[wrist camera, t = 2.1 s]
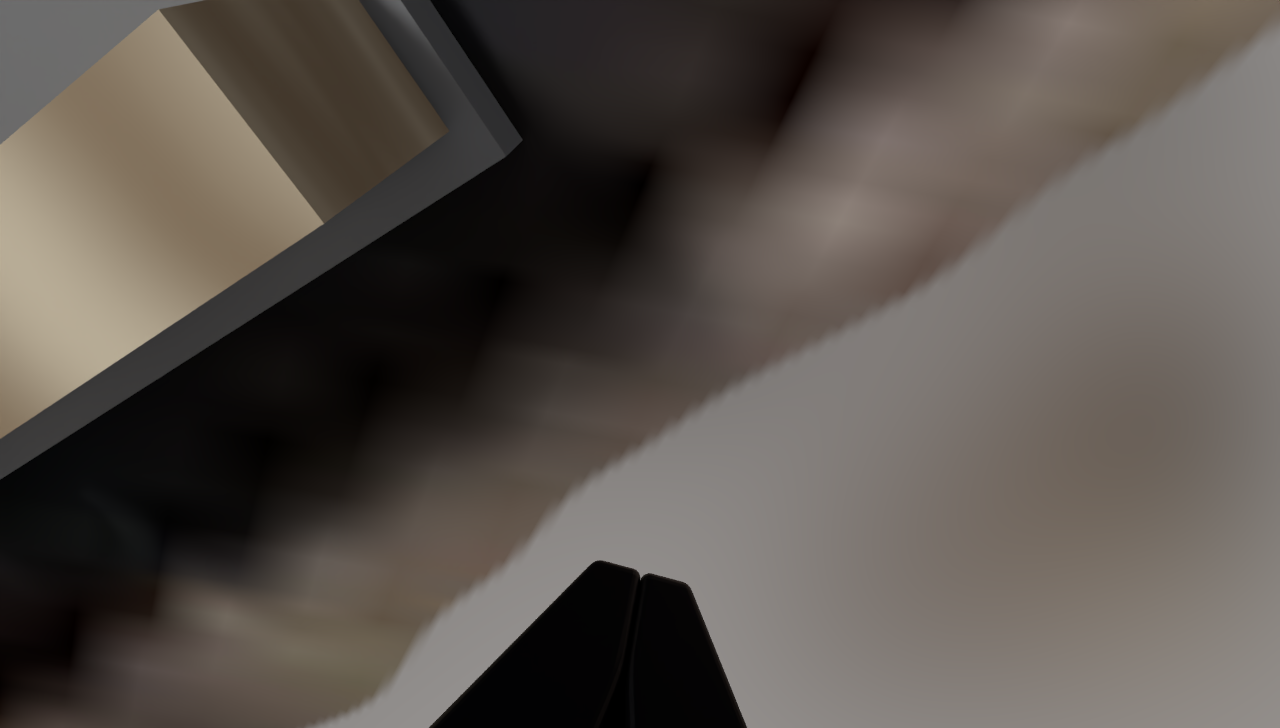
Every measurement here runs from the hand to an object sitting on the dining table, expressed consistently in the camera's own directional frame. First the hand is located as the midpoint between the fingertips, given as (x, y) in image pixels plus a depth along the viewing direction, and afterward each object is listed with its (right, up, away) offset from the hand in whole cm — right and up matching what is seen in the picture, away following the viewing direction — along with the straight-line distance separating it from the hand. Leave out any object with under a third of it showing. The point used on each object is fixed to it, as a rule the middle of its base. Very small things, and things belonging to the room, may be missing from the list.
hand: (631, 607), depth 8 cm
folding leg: (-10, +4, +10) cm, 15 cm away
